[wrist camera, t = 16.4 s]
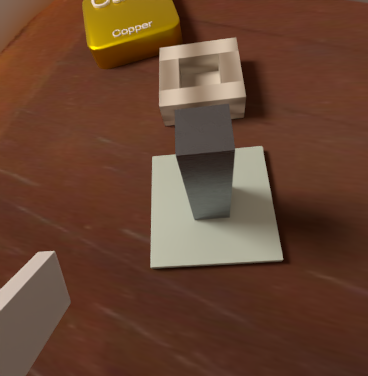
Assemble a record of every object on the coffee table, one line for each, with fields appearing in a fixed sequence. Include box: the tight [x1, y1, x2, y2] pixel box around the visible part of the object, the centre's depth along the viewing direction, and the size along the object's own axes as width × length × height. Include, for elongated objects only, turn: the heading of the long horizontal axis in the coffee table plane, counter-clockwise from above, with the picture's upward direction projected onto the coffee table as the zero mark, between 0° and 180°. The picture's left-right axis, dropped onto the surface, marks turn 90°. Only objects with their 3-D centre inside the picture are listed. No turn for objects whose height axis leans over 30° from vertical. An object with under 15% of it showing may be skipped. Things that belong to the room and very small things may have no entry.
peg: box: [175, 104, 235, 220], centre depth 25 cm, size 4×4×14 cm
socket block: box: [159, 38, 246, 126], centre depth 39 cm, size 11×11×4 cm
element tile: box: [82, 0, 183, 69], centre depth 46 cm, size 15×15×5 cm
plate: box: [150, 146, 283, 269], centre depth 32 cm, size 14×14×1 cm
